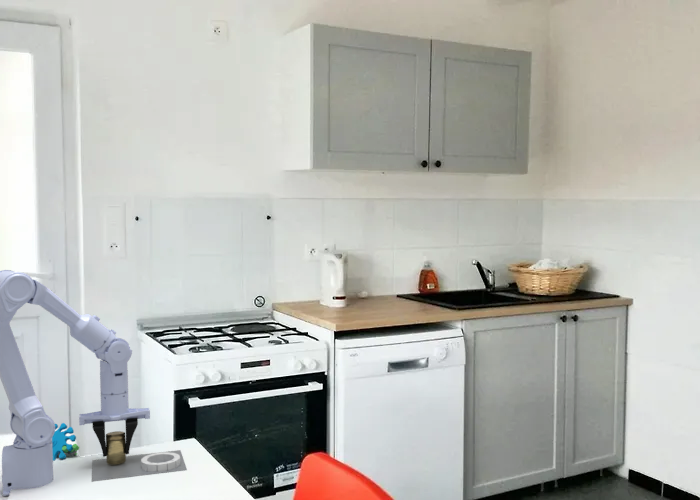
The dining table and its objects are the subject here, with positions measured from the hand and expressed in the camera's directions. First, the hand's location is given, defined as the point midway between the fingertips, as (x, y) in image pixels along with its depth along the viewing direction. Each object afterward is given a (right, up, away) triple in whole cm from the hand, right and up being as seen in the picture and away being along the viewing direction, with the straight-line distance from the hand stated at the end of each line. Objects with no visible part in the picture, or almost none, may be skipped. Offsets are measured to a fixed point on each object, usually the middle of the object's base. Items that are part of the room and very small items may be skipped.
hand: (116, 454), depth 160 cm
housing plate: (+5, -3, -1) cm, 6 cm away
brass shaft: (0, -2, 0) cm, 2 cm away
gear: (-15, -3, +6) cm, 17 cm away
